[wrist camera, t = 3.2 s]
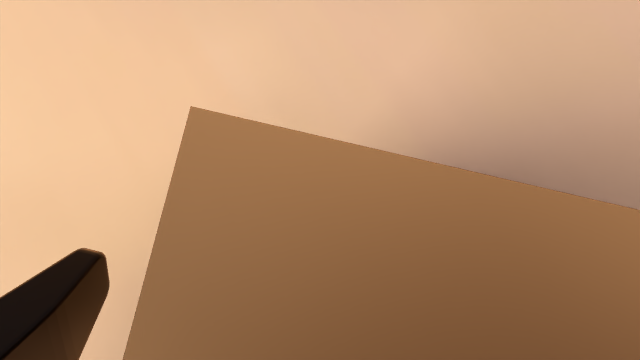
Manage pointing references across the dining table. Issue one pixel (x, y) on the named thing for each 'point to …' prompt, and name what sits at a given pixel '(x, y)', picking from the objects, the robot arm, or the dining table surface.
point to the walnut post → (376, 258)
